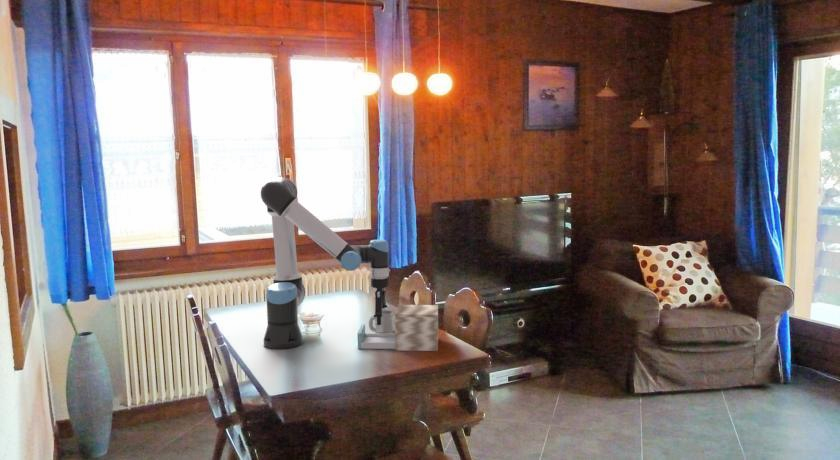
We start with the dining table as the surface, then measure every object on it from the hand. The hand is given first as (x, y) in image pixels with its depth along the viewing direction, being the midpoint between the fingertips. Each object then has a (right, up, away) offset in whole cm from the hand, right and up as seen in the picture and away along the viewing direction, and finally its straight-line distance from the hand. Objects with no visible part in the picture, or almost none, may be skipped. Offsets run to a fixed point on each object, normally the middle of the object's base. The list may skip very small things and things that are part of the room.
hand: (381, 327), depth 269 cm
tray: (+2, -4, -15) cm, 15 cm away
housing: (+15, -4, -15) cm, 22 cm away
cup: (0, -3, 0) cm, 3 cm away
